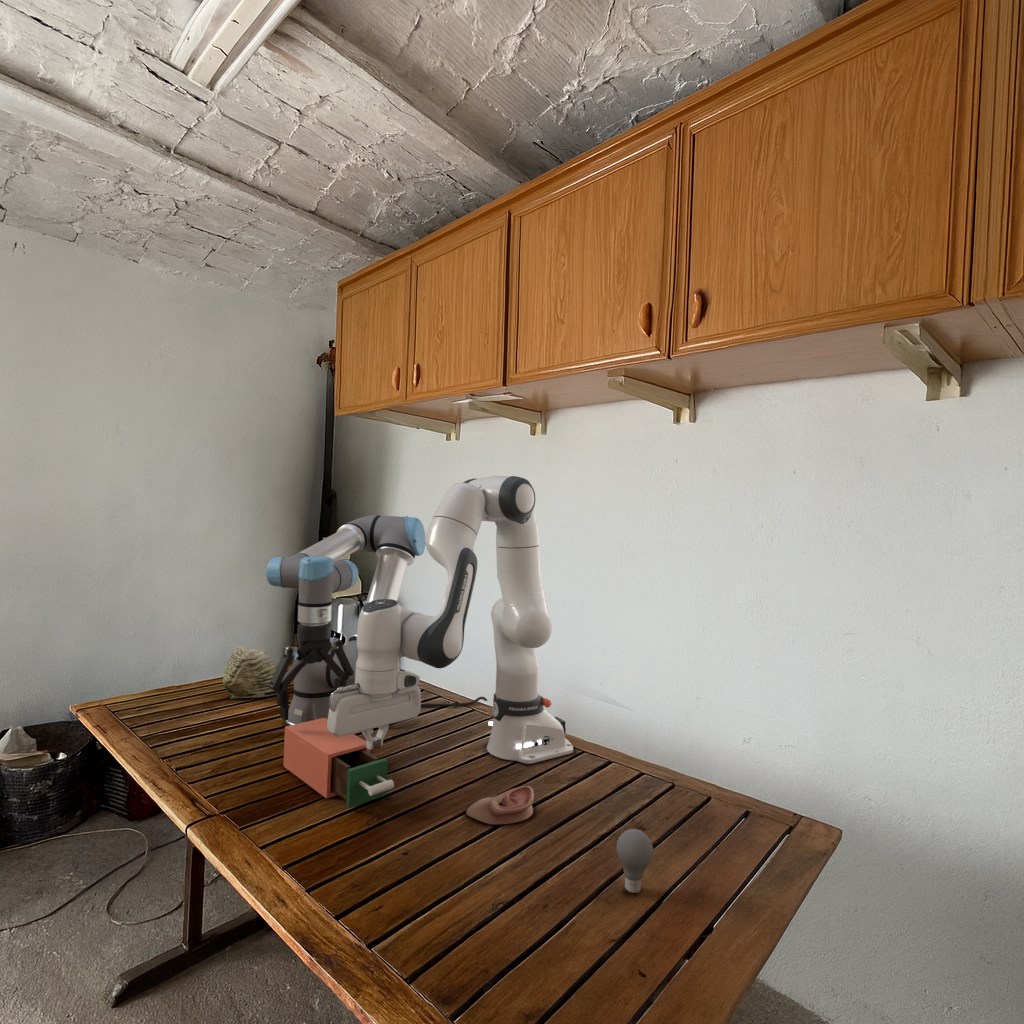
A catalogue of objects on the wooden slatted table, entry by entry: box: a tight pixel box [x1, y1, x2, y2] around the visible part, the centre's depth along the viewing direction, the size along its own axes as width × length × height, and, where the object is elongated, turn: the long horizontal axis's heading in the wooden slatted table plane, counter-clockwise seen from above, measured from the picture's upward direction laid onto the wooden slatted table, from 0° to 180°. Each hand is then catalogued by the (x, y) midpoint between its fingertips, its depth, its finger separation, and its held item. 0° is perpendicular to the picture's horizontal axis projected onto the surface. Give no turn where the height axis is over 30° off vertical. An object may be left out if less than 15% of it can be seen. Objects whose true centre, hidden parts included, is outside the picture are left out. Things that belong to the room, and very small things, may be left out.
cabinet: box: [282, 718, 371, 799], centre depth 144 cm, size 21×10×9 cm, turn 45°
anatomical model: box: [465, 785, 535, 825], centre depth 130 cm, size 13×4×12 cm
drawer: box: [330, 749, 395, 809], centre depth 136 cm, size 25×9×8 cm, turn 45°
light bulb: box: [615, 828, 654, 894], centre depth 106 cm, size 6×6×10 cm
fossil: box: [222, 646, 277, 699], centre depth 198 cm, size 9×18×15 cm, turn 132°
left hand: (311, 712), depth 149 cm, fingers open, 13 cm apart
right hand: (374, 747), depth 129 cm, fingers closed
